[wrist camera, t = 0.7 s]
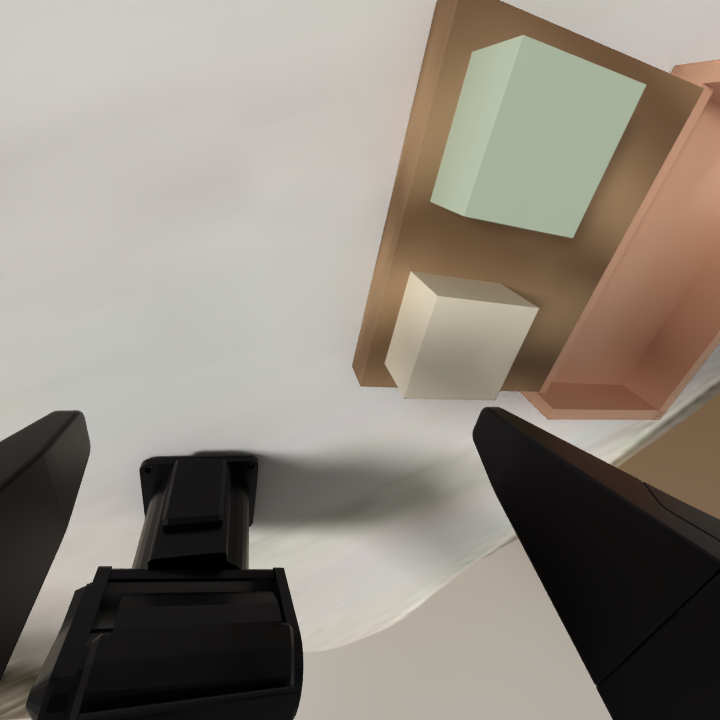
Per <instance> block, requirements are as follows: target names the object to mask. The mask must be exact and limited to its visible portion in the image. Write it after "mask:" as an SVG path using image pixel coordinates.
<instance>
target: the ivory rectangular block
mask: <svg viewBox="0 0 720 720" xmlns="http://www.w3.org/2000/svg"><path fill="white" fill-rule="evenodd" d="M538 310H539V308H538V307H537V306H535V305H534V304H532V303H530V302H529V301H527V300H526V299H524V298H523V297H521V296H519V295H518V294H516V293H515V292H513V291H512V290H510V289H508V288H507V287H505V286H504V285H502V284H499V283H492V282H485V281H478V280H470V279H463V278H456V277H449V276H442V275H435V274H428V273H421V272H414V271H410V275H409V278H408V282H407V285H406V289H405V293H404V296H403V300H402V303H401V307H400V310H399V314H398V317H397V321H396V325H395V328H394V332H393V335H392V339H391V342H390V346H389V350H388V353H387V357H386V360H385V365H386V367H387V369H388V371H389V372H390V374H391V376H392V378H393V379H394V381H395V383H396V385H397V387H398V388H399V390H400V392H401V394H402V396H403V397H404V398H414V399H462V400H496V397H497V395H498V393H499V391H500V389H501V387H502V385H503V383H504V381H505V379H506V377H507V375H508V372H509V370H510V368H511V366H512V364H513V362H514V360H515V358H516V356H517V354H518V352H519V350H520V347H521V345H522V343H523V341H524V339H525V337H526V335H527V333H528V331H529V329H530V327H531V324H532V322H533V320H534V318H535V316H536V314H537V312H538Z"/></svg>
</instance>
